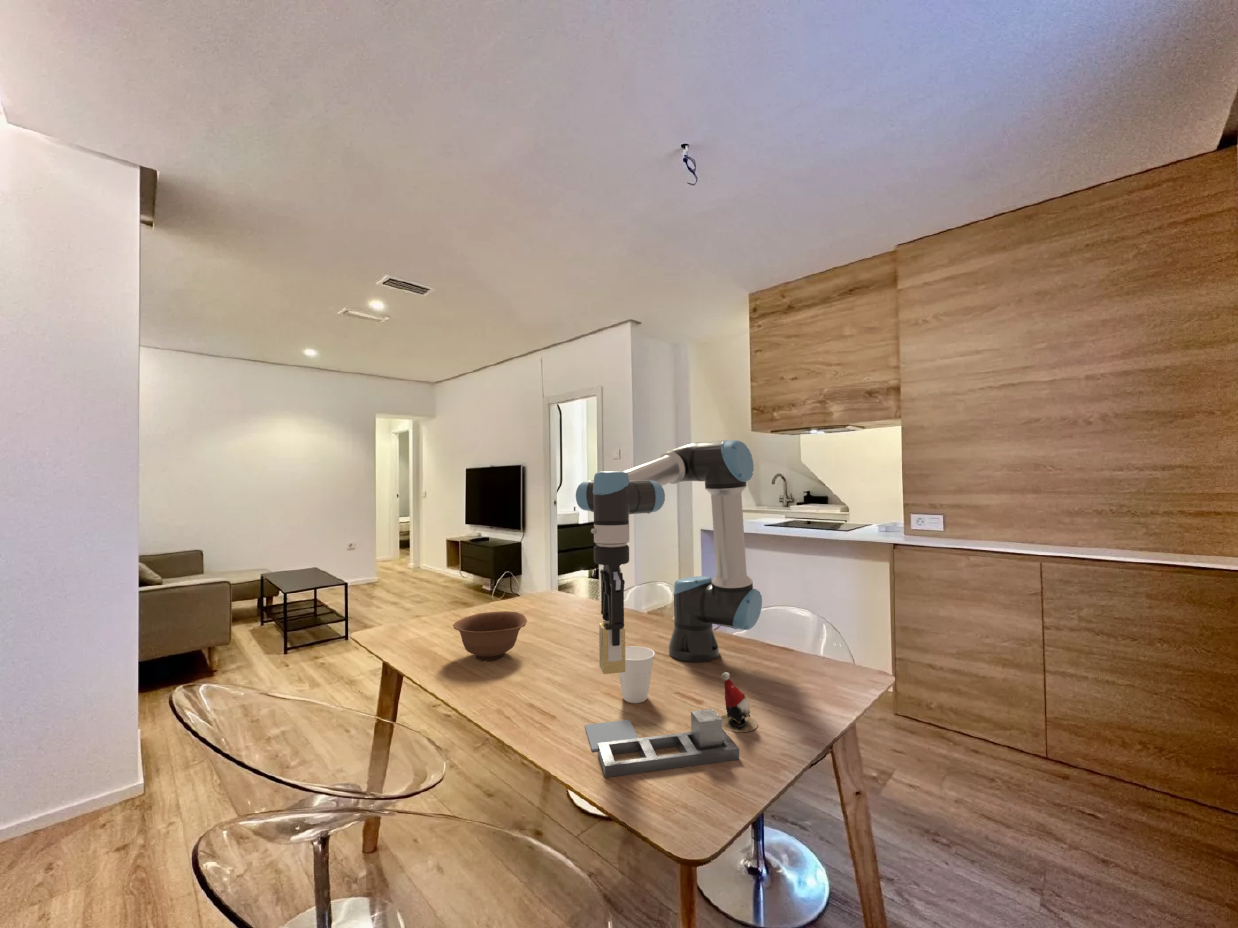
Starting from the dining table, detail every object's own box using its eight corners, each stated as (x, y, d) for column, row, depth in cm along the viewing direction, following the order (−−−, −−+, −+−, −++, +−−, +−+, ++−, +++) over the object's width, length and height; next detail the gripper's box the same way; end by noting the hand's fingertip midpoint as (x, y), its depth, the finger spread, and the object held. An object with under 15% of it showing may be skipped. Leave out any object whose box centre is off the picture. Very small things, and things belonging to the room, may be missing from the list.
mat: (629, 721, 108) (629, 719, 108) (641, 745, 98) (641, 743, 98) (584, 726, 106) (584, 724, 106) (591, 751, 96) (591, 749, 96)
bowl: (542, 652, 153) (541, 616, 153) (488, 676, 134) (488, 635, 135) (492, 640, 165) (492, 607, 165) (436, 660, 146) (436, 623, 146)
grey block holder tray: (722, 737, 101) (721, 727, 101) (739, 759, 93) (739, 748, 93) (597, 753, 96) (597, 742, 96) (605, 777, 88) (605, 766, 88)
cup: (659, 692, 123) (659, 648, 123) (649, 710, 114) (648, 662, 114) (622, 687, 126) (622, 644, 127) (609, 704, 117) (608, 657, 117)
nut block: (620, 663, 105) (620, 621, 106) (625, 672, 101) (625, 627, 101) (599, 665, 104) (599, 623, 105) (603, 674, 100) (603, 629, 100)
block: (713, 743, 99) (712, 708, 99) (722, 756, 94) (722, 719, 95) (691, 746, 98) (691, 711, 98) (700, 759, 93) (699, 721, 94)
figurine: (776, 709, 105) (736, 679, 103) (752, 750, 103) (710, 720, 101) (756, 694, 113) (718, 665, 111) (732, 732, 111) (694, 703, 109)
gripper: (587, 539, 111) (588, 643, 111) (601, 550, 94) (602, 673, 93) (619, 538, 113) (620, 641, 112) (639, 549, 96) (640, 669, 95)
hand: (612, 655), depth 103 cm, fingers closed on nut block, 5 cm apart
